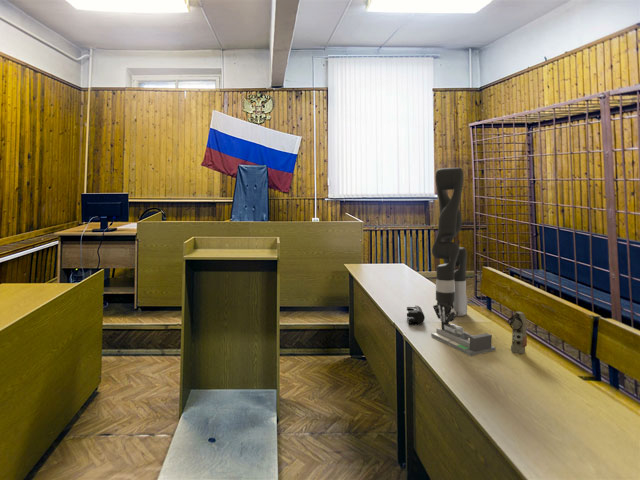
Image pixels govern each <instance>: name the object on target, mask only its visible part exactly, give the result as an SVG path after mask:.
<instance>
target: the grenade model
mask: <svg viewBox="0 0 640 480" xmlns="http://www.w3.org/2000/svg"><path fill="white" fill-rule="evenodd" d="M513 313H514V314H513V315H512V316H510V317H509V318H508V319H507V321H506V322H507V324H508V325H509V326H510V328H511V330H512V332H511V333H512V335H511V336H512V337H511V345H510V352H512V353H513V354H517V355H523V354H525V353H526V347H527V346H528V342H527V341H528V340H527V339H528V337H527V318H526V315H525V313H524V312H522V311H519V310H517V311H514V312H513Z"/></svg>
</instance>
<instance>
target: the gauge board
mask: <svg viewBox="0 0 640 480" xmlns="http://www.w3.org/2000/svg"><path fill="white" fill-rule="evenodd" d="M435 330H436V331H435V332H431V333H430V334H431V335H430V336H431V337H432V338H433V339H435V340H438V341H440V342H442V343H444V344H446V345H448V346H449V347H452V348H454V349H456V350H458V351H460V352H461V353H463V354H465V355H467V356H470V357H473V356H478V355H481V354H487V353H491V352H494V351H496V350H497V348H496V347H495V346H494V345H492V344H493V343H492V339H493V337H492V334H491V333H487V332H486V333H479V334H475V335H474V334H471V333H469V332H467V331H464V330H463V333H464V338H463V339H461V338H459V337H457V336H455V335H452V334H450V333H448V332H446V331H444V330H442V328H439V327H437V328H436V329H435ZM468 338H470V342H468Z"/></svg>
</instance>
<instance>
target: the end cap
mask: <svg viewBox="0 0 640 480" xmlns="http://www.w3.org/2000/svg"><path fill="white" fill-rule="evenodd" d="M406 311H407V313H406V321H407V324H408V326H420V325H421V324H423V323H424V322H425V318H426V317H425V314H424V311H423V310H422V308H421V307H420V306H419V305H415V306H407V307H406Z"/></svg>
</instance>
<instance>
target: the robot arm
mask: <svg viewBox="0 0 640 480" xmlns="http://www.w3.org/2000/svg"><path fill="white" fill-rule="evenodd" d="M464 178H465V177H464V170H463V169H462V168H461V167H446V168H445V167H444V168H443V167H442V168H439V169H437V170H436V173H435V187H436V191H437V192H436V193H437V198H438V207H439V217H438V228H437V230H438V231H437V234H436V237H435V240H434V242H433V245H432V247H431V248H432V249H431V254H432V257H434V259H439V260H442V261H443V264H438V265H437V266H436V278H435V279H436V282H435V301H437V302H436V304H434V305H433V306H432V307H433V310H434V312H435V314H436V317H437V319H438V320H440V321H441V329H442V330H444V325H447V324H450V322H453V321H454V320H455V318H457V317H463V316H465V315H468V295H467V281H466V280H467V261H468V260H467V259H468V252H467V248H465V247H461V246H459V244H458V243H457V242H454V241H453V240H454V238H455V237H456V236H457V235H458V233H459V232H460V230H461V229H462V226H463V225H462V224H463V221H462V212H461V210H460V209H459V208H460V202H461V197H462V191H463V186H464ZM447 190H449V191H451V190H452V191H453V193H452V196H451V198H450V197H449V195H448V192H447ZM456 267H458V268H457V269H456Z"/></svg>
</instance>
